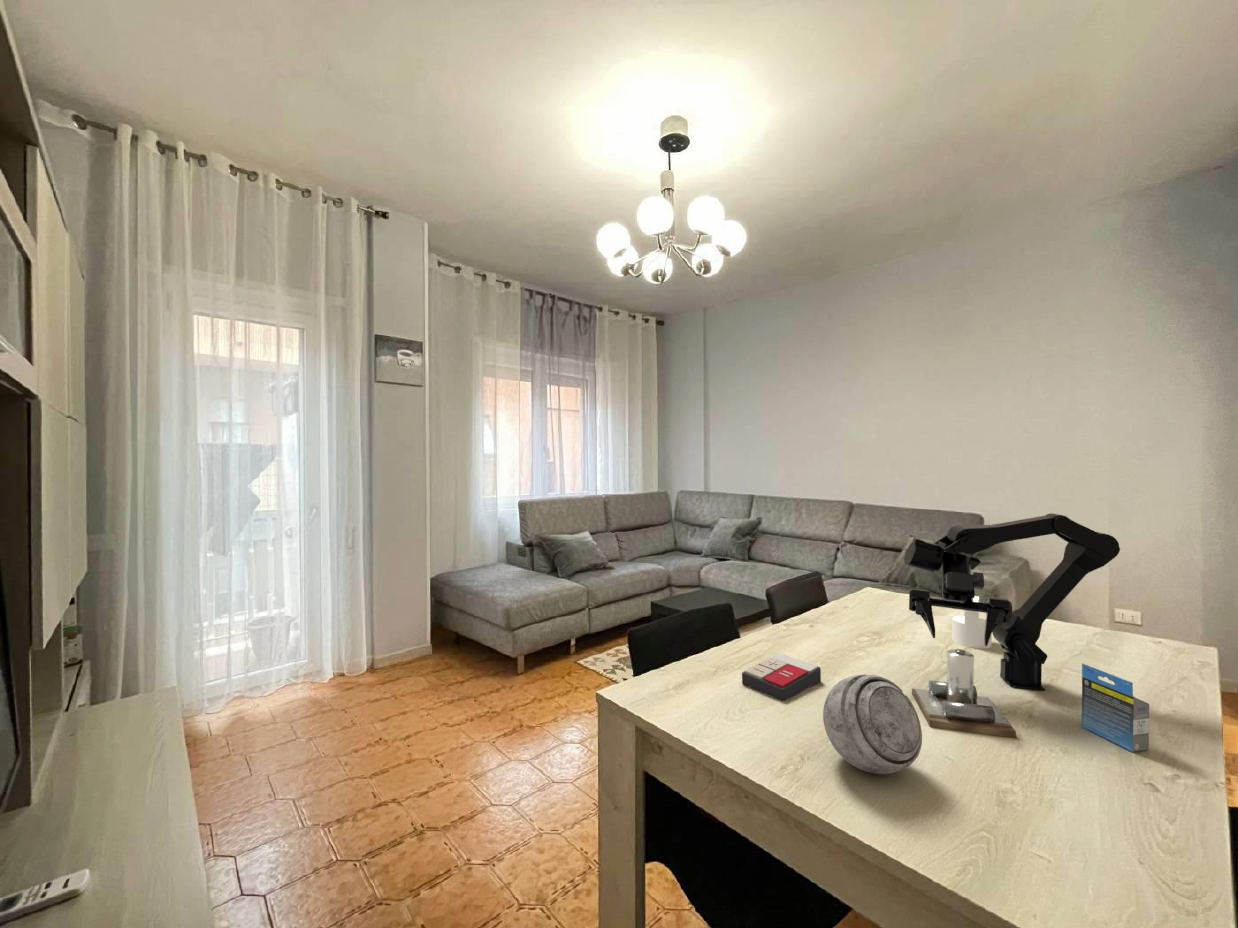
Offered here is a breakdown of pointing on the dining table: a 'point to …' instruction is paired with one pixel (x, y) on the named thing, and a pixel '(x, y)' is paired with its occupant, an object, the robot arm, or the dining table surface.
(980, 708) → the hinge leaves
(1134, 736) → the ink cartridge box
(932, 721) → the board
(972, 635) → the cylinder with rectangular tab
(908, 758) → the decorative orb
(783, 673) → the calculator
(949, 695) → the hinge barrel
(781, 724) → the dining table surface
